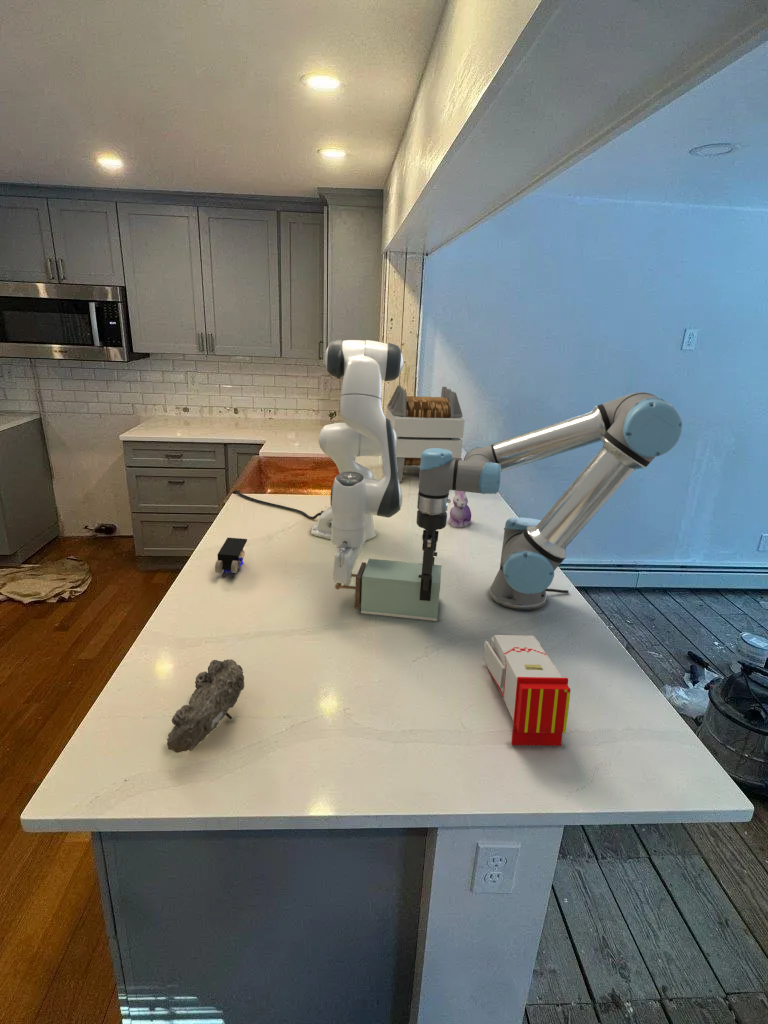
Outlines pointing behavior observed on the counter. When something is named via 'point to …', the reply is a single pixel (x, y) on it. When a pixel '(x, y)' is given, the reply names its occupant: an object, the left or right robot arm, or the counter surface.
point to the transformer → (425, 425)
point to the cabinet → (398, 590)
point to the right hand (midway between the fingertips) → (426, 589)
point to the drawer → (357, 585)
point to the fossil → (206, 705)
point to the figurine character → (230, 556)
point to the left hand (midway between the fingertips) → (347, 583)
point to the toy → (529, 689)
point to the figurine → (460, 510)
